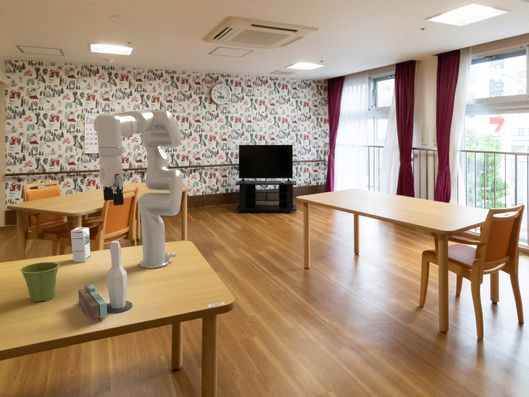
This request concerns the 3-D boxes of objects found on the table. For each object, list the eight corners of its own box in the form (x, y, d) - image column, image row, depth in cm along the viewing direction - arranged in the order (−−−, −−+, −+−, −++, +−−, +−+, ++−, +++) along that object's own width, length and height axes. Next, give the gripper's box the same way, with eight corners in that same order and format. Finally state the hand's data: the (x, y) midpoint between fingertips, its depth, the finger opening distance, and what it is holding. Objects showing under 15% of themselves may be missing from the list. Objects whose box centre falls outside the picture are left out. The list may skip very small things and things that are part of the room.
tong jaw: (94, 301, 137) (93, 285, 136) (107, 315, 127) (106, 299, 126) (88, 302, 136) (87, 287, 135) (100, 317, 125) (99, 300, 125)
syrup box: (85, 262, 181) (83, 230, 179) (72, 261, 181) (70, 230, 179) (91, 258, 187) (89, 227, 184) (78, 257, 187) (76, 227, 184)
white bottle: (129, 301, 140) (126, 238, 136) (126, 309, 133) (123, 244, 130) (110, 302, 138) (106, 239, 135) (106, 310, 132) (102, 244, 129)
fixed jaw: (92, 299, 141) (91, 283, 140) (109, 319, 127) (108, 300, 126) (77, 303, 138) (76, 286, 137) (92, 323, 124) (91, 304, 123)
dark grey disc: (126, 299, 142) (126, 298, 142) (136, 308, 135) (136, 307, 135) (100, 305, 136) (99, 304, 136) (108, 315, 129) (108, 314, 129)
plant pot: (66, 290, 149) (64, 261, 147) (53, 304, 137) (51, 272, 135) (32, 291, 148) (29, 261, 146) (16, 305, 136) (13, 273, 134)
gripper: (91, 151, 141) (94, 199, 144) (107, 155, 128) (111, 208, 131) (112, 150, 146) (115, 197, 149) (131, 153, 132) (134, 205, 136)
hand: (113, 202), depth 140 cm, fingers open, 9 cm apart
